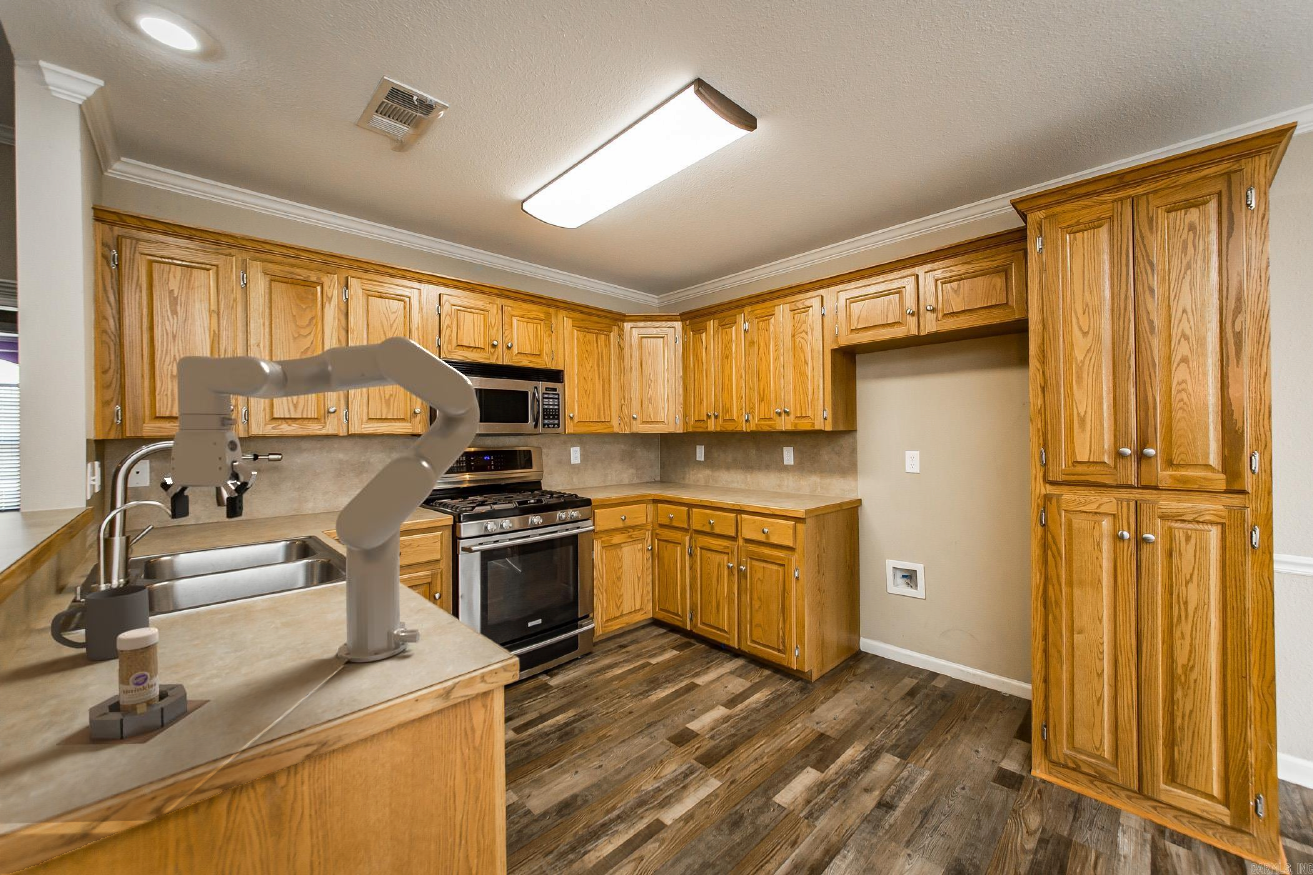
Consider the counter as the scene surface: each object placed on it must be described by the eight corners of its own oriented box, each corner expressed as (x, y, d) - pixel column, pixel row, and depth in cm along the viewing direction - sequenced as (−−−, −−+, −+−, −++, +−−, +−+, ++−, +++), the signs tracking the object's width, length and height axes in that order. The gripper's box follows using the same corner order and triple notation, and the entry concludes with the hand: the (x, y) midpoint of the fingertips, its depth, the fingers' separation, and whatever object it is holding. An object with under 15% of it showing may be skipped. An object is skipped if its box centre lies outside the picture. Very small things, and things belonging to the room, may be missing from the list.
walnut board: (211, 704, 89) (211, 699, 89) (144, 748, 77) (144, 742, 77) (135, 705, 88) (135, 700, 88) (56, 749, 76) (56, 744, 76)
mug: (141, 638, 116) (140, 582, 116) (156, 648, 111) (154, 589, 111) (46, 662, 104) (44, 599, 104) (57, 674, 99) (55, 608, 99)
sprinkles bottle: (126, 731, 80) (123, 640, 79) (113, 723, 82) (111, 634, 81) (166, 716, 84) (163, 629, 83) (153, 709, 86) (150, 624, 85)
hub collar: (202, 702, 88) (202, 678, 88) (143, 739, 78) (143, 713, 77) (135, 703, 88) (135, 679, 88) (67, 741, 77) (66, 714, 77)
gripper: (267, 424, 104) (269, 514, 105) (174, 424, 104) (176, 514, 104) (239, 424, 97) (240, 521, 97) (138, 424, 96) (140, 521, 97)
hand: (207, 517), depth 101 cm, fingers open, 9 cm apart
